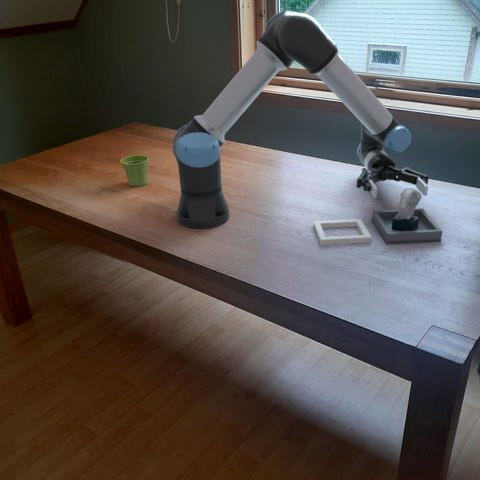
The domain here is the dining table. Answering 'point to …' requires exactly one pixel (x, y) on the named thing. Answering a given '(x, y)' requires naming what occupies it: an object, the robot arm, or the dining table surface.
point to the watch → (407, 211)
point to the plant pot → (136, 169)
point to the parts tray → (423, 233)
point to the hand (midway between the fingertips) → (401, 192)
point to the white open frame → (324, 240)
